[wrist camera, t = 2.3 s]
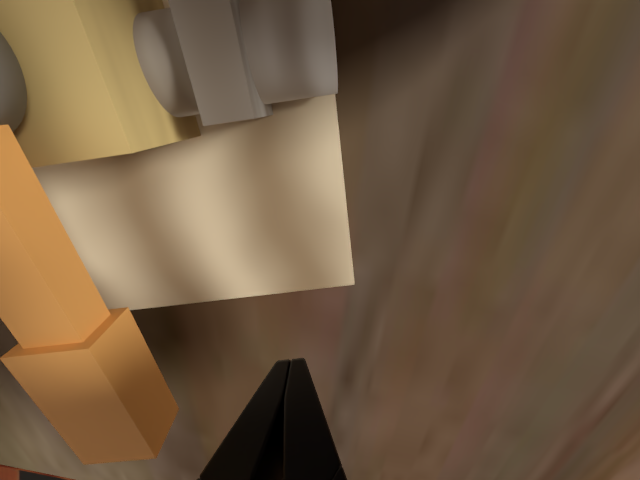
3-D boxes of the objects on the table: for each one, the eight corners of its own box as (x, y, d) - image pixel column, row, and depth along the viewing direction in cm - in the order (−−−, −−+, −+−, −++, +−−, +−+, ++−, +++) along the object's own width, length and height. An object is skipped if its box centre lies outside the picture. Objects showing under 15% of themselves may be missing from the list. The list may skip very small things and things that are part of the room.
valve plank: (312, -107, 11) (304, -393, 5) (352, 273, 17) (370, 365, 11) (-140, -21, 12) (-651, -161, 5) (61, 307, 18) (-68, 408, 12)
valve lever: (-27, -33, 6) (-155, -84, 4) (186, 408, 12) (164, 457, 10) (-168, -7, 6) (-341, -46, 5) (109, 415, 12) (75, 465, 10)
